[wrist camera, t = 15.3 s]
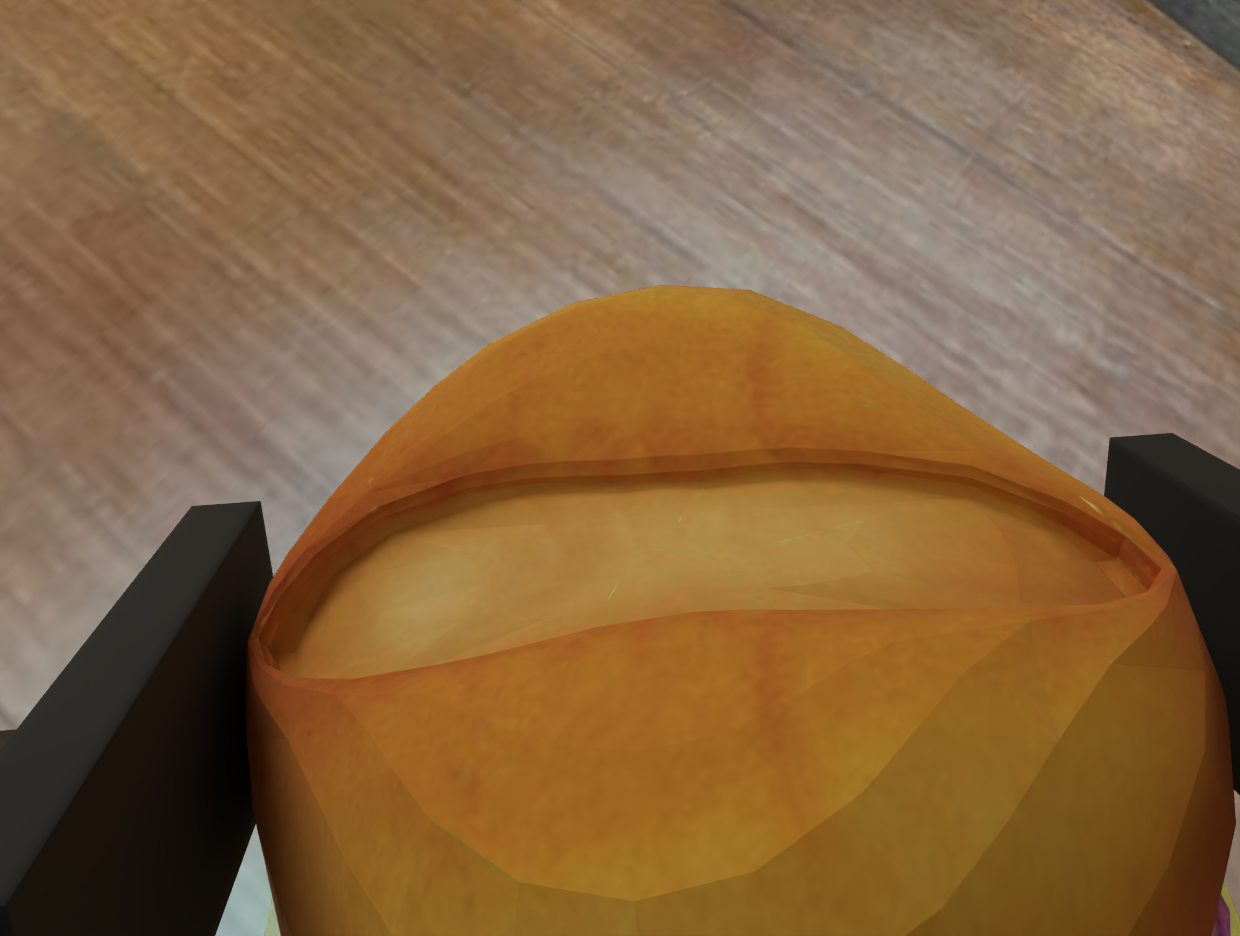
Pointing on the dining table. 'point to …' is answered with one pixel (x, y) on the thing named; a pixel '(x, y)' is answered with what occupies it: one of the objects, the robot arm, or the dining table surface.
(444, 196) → the dining table surface
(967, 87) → the dining table surface
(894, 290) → the dining table surface
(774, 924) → the cheeseburger
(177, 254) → the dining table surface
